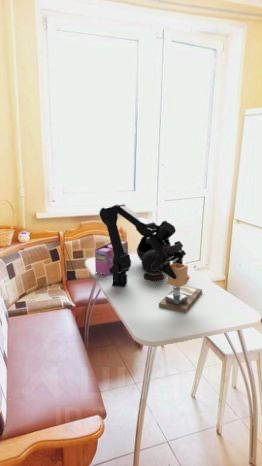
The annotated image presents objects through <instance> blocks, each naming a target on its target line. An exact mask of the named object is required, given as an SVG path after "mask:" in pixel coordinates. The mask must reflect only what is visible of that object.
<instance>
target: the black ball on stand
mask: <svg viewBox="0 0 262 466" xmlns="http://www.w3.org/2000/svg"><path fill="white" fill-rule="evenodd" d="M154 253H155V250H150V251H147V252H146V253H145V254H144V256H143V257H142V261H141V267H142V269H143V271H145V272H144V274H143V276H142V277H143V279H144V280H146V281H148V282H160V281H163V280H165V274H164V273H163V272H161V271H158V270H159V269H160V268H159V267H158V269H157V270H155V271H153V270H152V268H151V264H153V263H154V262H155V261H156V260H157V259H159V256H158V255H157V254H156V255H155V254H154Z"/></svg>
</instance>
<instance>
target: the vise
mask: <svg viewBox="0 0 262 466" xmlns="http://www.w3.org/2000/svg"><path fill="white" fill-rule="evenodd" d="M172 287H173V288H172V290H173V293H171V294H169V293H168V294H169V295H168V294H167V295H168V296H167V295H166V296H165V297H166V302H168V303H171V304H173V305H176V306H180V305H182V304H183V303H185V302H187V296H186V295H185V293H183V294H180V287H179V288H178V287H175V286H172Z"/></svg>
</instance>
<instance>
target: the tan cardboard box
mask: <svg viewBox="0 0 262 466" xmlns="http://www.w3.org/2000/svg"><path fill="white" fill-rule="evenodd" d="M170 267H171V269H172V270H173V272H174V274H175V275H176V277H177V278H176V279H173V278H172V277H170V276H168V275H167V274H166V276H167V277H166V282H167V283H166V284H167V285H169V286H172V287H174V286H175V287H178V288H179V287H181V286H186V285H187V284H188V279H187V275H188V267H189V266H188V265H186V264H184V263H183V264H179V263H174V264H173V263H172V264H170Z"/></svg>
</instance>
